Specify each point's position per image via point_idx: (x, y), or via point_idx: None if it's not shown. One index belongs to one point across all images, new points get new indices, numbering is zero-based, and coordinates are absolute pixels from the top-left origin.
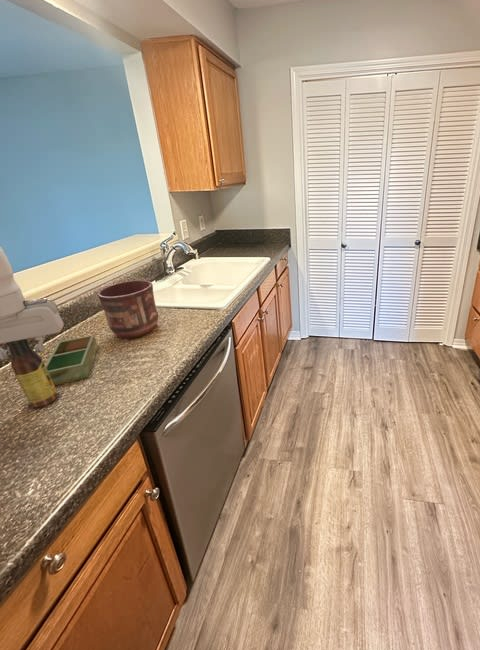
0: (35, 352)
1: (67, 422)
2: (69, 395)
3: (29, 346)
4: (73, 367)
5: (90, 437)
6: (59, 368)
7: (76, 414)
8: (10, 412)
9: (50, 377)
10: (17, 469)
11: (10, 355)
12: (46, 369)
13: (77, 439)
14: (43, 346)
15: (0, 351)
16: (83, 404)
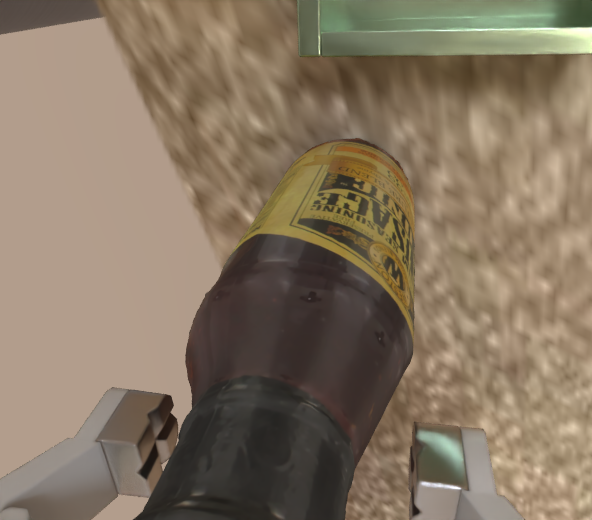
0: (378, 387)
1: (475, 396)
2: (470, 203)
3: (346, 473)
4: (548, 51)
5: (556, 498)
6: (438, 33)
7: (509, 368)
8: (211, 213)
9: (413, 240)
10: (356, 503)
11: (169, 405)
12: (413, 283)
13: (513, 486)
14: (487, 461)
15: (92, 496)
16: (541, 317)
